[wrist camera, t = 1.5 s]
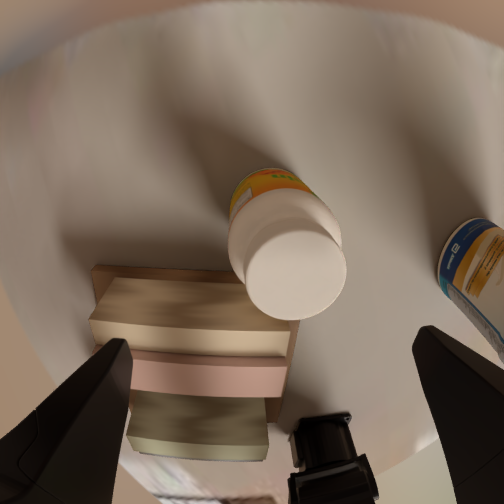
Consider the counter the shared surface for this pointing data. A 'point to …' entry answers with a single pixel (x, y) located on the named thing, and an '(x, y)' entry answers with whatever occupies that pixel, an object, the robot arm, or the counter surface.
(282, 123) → the counter surface
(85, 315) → the counter surface
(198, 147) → the counter surface
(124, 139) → the counter surface
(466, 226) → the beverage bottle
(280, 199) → the supplement bottle
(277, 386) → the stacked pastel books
